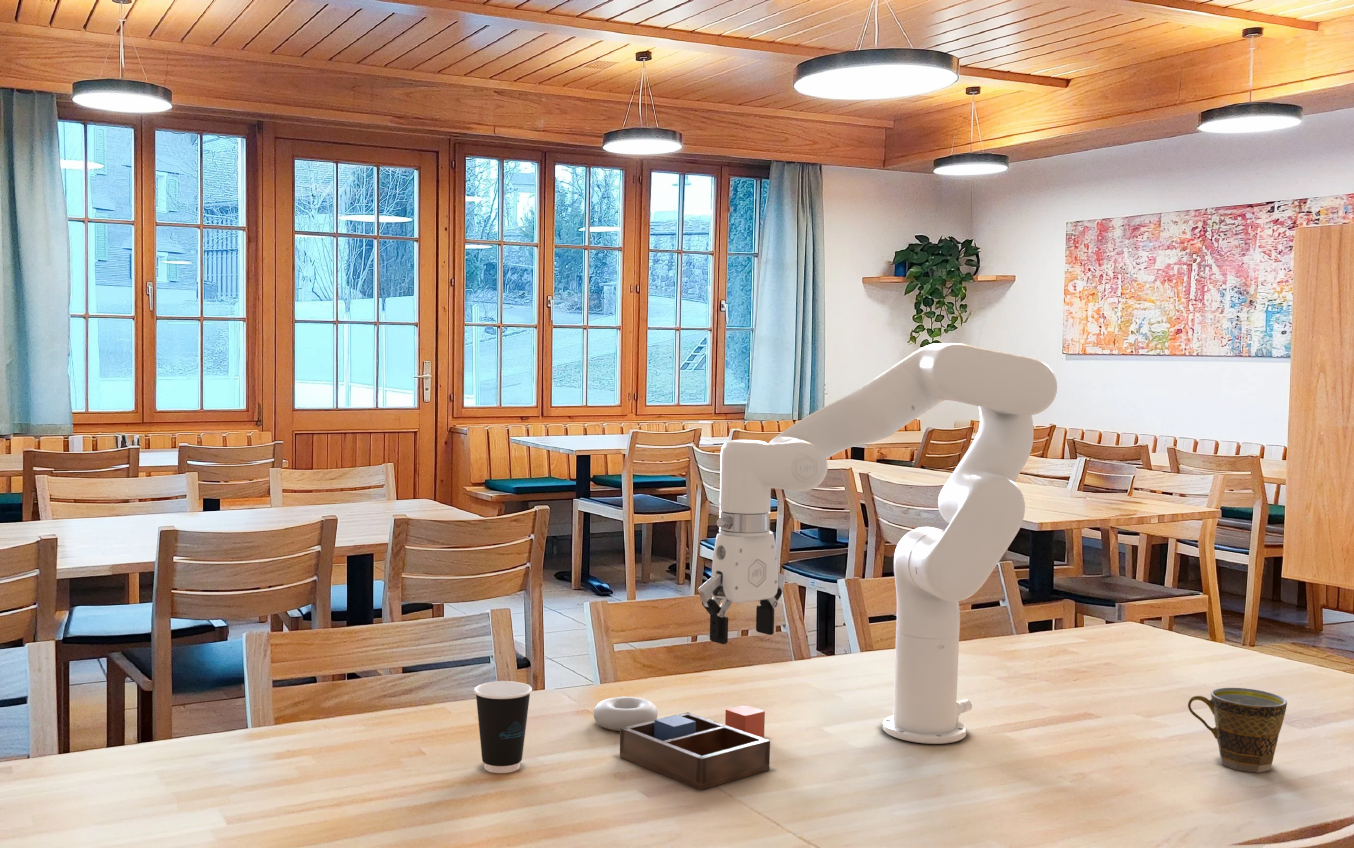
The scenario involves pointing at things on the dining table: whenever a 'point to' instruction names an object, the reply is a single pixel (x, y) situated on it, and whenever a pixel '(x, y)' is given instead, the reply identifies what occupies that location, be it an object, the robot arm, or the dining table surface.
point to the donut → (624, 712)
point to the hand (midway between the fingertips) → (742, 637)
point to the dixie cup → (502, 723)
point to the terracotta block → (746, 719)
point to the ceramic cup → (1245, 726)
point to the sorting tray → (697, 752)
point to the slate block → (673, 727)
